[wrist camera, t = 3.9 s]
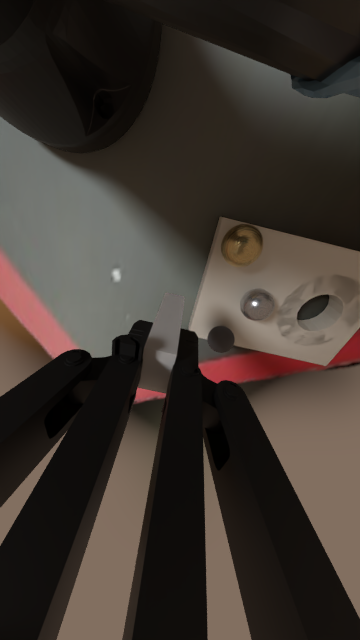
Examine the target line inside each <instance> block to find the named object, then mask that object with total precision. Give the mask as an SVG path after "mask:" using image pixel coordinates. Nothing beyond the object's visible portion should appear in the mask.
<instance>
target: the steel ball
mask: <svg viewBox="0 0 360 640" xmlns="http://www.w3.org/2000/svg"><path fill="white" fill-rule="evenodd" d="M274 308H275V301H274V298H273V296H272V295H271V294H270V293H269V292H268V291H266V290H264V289H260V288H256V289H252V290H249V291H248V292H246V293H245V294H244V295H243V297H242V298H241V301H240V309H241V312H242V314H243V315H244V316H245V317H246V318H248V319H250V320H253V321H261V320H264V319H266V318H268V317H269V316H270V315H271V314H272V312H273V311H274Z"/></svg>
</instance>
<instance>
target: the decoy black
mask: <svg viewBox="0 0 360 640" xmlns="http://www.w3.org/2000/svg"><path fill="white" fill-rule="evenodd" d="M207 340H208V344H209V346H210V347H211V349H213V350H214V351H216V352H220V353H223V352H227V351H229V350H230V349H231V348H232V347H233V345H234V342H235V337H234V334H233V332H232V331H231V330H230V329H229V328H227V327H225V326H216V327H214V328H213V329H211V330H210V332H209V334H208V337H207Z"/></svg>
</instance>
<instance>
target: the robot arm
mask: <svg viewBox="0 0 360 640" xmlns="http://www.w3.org/2000/svg"><path fill="white" fill-rule="evenodd" d="M162 24H165V25H167V26H170V27H172V28H175V29H177V30H180V31H182V32H185V33H188V34H190V35H193V36H195V37H198V38H200V39H203V40H205V41H208V42H210V43H213V44H215V45H218V46H220V47H223V48H225V49H228V50H230V51H233V52H236V53H238V54H241V55H243V56H246V57H248V58H251V59H253V60H256V61H258V62H261V63H263V64H266V65H268V66H271V67H273V68H276V69H278V70H281V71H284V72H286V73H289V74H290V75H291V79H292V88H293V89H295V90H296V91H298V92H300V93H301V94H303V95H304V96H308V97H312V98H328V97H331V96H335V95H338V94H341V93H346V94H349V95H353V96H356V97H360V0H0V116H1V117H2V118H3V119H4V120H6V121H7V122H8V123H10V124H11V125H13V126H14V127H15V128H17V129H18V130H20V131H21V132H23V133H25V134H26V135H28V136H30V137H32V138H34V139H36V140H38V141H40V142H43V143H45V144H47V145H50V146H52V147H55V148H57V149H60V150H63V151H68V152H74V153H87V152H93V151H97V150H100V149H103V148H105V147H107V146H109V145H111V144H112V143H114V142H115V141H117V140H118V139H119V138H120V137H121V136H122V135H123V134H124V133H125V132H126V131H127V130H128V129H129V128H130V127H131V125H132V124H133V123H134V121H135V120H136V118H137V117H138V115H139V113H140V111H141V109H142V107H143V105H144V103H145V101H146V99H147V96H148V94H149V91H150V88H151V85H152V82H153V78H154V75H155V70H156V66H157V61H158V55H159V48H160V40H161V28H162ZM184 300H185V297H184V296H180V295H176V294H171V293H167V292H165V295H164V297H163V300H162V302H161V305H160V308H159V310H158V313H157V315H156V318H155V321H154V323H152V322H147V321H143V320H139V321H137V322H136V323H134V325H133V326H132V328H131V330H130V332H129V334H128V335H121V336H118V337H116V338H115V339H114V340H113V341H112V356H108V357H102V358H92V357H91V355H90V353H88V352H87V351H85V350H81V349H74V350H70V351H66V352H64V353H62V354H61V355H59V356H58V357H56V358H55V359H54V360H52V361H51V362H49V363H48V364H46V365H45V366H44V367H42V368H41V369H39V370H38V371H36V372H35V373H34V374H32V375H31V376H30V377H28V378H27V379H25V380H24V381H22V382H21V383H20V384H18V385H17V386H15V387H14V388H12V389H11V390H10V391H8V392H7V393H5V394H4V395H2V396H1V397H0V507H1V506H2V505H3V504H4V503H5V502H6V500H7V499H8V498H9V497H10V496H11V495H12V494H13V492H14V491H15V490H16V489H17V488H18V487H19V485H20V484H21V483H22V482H23V481H24V480H25V478H26V477H27V476H28V475H29V474H30V473H31V472H32V471H33V469H34V468H35V467H36V466H37V465H38V464H39V462H40V461H41V460H42V459H43V458H44V457H45V456H46V454H47V453H48V452H49V451H50V450H51V449H52V448H53V446H54V445H55V444H56V443H57V442H58V441H59V439H60V438H61V437H62V436H63V435H64V434H65V433H66V431H67V430H68V431H67V433H66V434H65V436H64V438H63V440H62V441H61V443H60V445H59V447H58V448H57V450H56V452H55V453H54V455H53V457H52V459H51V460H50V462H49V464H48V465H47V467H46V469H45V470H44V472H43V474H42V476H41V477H40V479H39V481H38V482H37V484H36V486H35V487H34V489H33V491H32V493H31V494H30V496H29V498H28V499H27V501H26V503H25V505H24V506H23V508H22V510H21V511H20V513H19V515H18V517H17V518H16V520H15V522H14V524H13V525H12V527H11V529H10V530H9V532H8V534H7V535H6V537H5V539H4V541H3V543H2V544H1V546H0V640H56V639H57V636H58V633H59V630H60V627H61V624H62V621H63V617H64V614H65V611H66V608H67V605H68V602H69V599H70V596H71V593H72V590H73V587H74V584H75V581H76V578H77V575H78V572H79V568H80V565H81V562H82V559H83V556H84V553H85V550H86V547H87V544H88V540H89V538H90V535H91V532H92V529H93V526H94V522H95V520H96V516H97V513H98V510H99V507H100V504H101V501H102V498H103V495H104V492H105V489H106V486H107V483H108V480H109V477H110V474H111V470H112V468H113V464H114V461H115V458H116V455H117V452H118V449H119V446H120V443H121V440H122V437H123V434H124V431H125V428H126V425H127V422H128V419H129V415H130V412H131V409H132V406H133V403H134V400H135V397H136V390H137V387H138V388H143V389H147V390H152V391H157V392H162V393H166V397H165V401H164V405H163V408H162V417H161V423H160V428H159V434H158V440H157V446H156V451H155V457H154V463H153V469H152V474H151V480H150V485H149V491H148V497H147V503H146V508H145V514H144V520H143V525H142V531H141V537H140V543H139V548H138V554H137V559H136V565H135V571H134V577H133V582H132V588H131V594H130V600H129V605H128V611H127V616H126V622H125V628H124V634H123V639H122V640H208V639H207V596H206V552H205V511H204V510H205V508H204V464H203V439H204V443H205V447H206V451H207V455H208V459H209V463H210V468H211V472H212V476H213V480H214V484H215V489H216V492H217V497H218V501H219V505H220V509H221V513H222V518H223V522H224V526H225V530H226V534H227V538H228V543H229V547H230V551H231V555H232V559H233V564H234V568H235V571H236V576H237V580H238V584H239V589H240V593H241V597H242V601H243V605H244V609H245V613H246V618H247V622H248V626H249V630H250V634H251V639H252V640H360V618H359V617H358V615H357V613H356V611H355V609H354V607H353V605H352V603H351V601H350V599H349V597H348V595H347V593H346V591H345V589H344V587H343V585H342V583H341V581H340V579H339V577H338V575H337V573H336V571H335V569H334V567H333V565H332V563H331V561H330V559H329V557H328V556H327V553H326V552H325V550H324V548H323V546H322V544H321V542H320V540H319V538H318V536H317V534H316V532H315V530H314V528H313V526H312V524H311V522H310V520H309V518H308V516H307V514H306V512H305V510H304V508H303V506H302V504H301V502H300V500H299V499H298V496H297V494H296V492H295V490H294V488H293V487H292V485H291V483H290V481H289V479H288V477H287V475H286V473H285V471H284V469H283V467H282V465H281V463H280V461H279V459H278V457H277V455H276V453H275V451H274V449H273V447H272V445H271V443H270V441H269V439H268V437H267V435H266V433H265V431H264V430H263V427H262V426H261V424H260V422H259V420H258V418H257V416H256V414H255V412H254V410H253V408H252V406H251V404H250V402H249V400H248V398H247V396H246V394H245V392H244V391H243V389H242V388H241V387H240V386H238V385H237V384H236V383H234V382H232V381H227V380H225V381H221V382H219V383H218V384H217V383H215V382H213V381H211V380H209V379H207V378H206V377H205V376H203V375H202V373H201V370H200V369H199V367H198V336H197V334H196V333H195V332H194V331H190V330H185V329H181V321H182V314H183V307H184ZM138 384H139V385H138Z"/></svg>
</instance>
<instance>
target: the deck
mask: <svg viewBox="0 0 360 640" xmlns="http://www.w3.org/2000/svg"><path fill="white" fill-rule="evenodd" d="M239 224H248V223H244V222H241V221H237V220H233V219H229V218H225V217H221V216H220V218H219V221H218V225H217V228H216V232H215V235H214V239H213V242H212V246H211V249H210V253H209V256H208V260H207V263H206V267H205V270H204V274H203V277H202V281H201V284H200V288H199V291H198V295H197V298H196V301H195V305H194V308H193V312H192V315H191V319H190V322H189V330H190V331H194V332H195V333H196V334H197V336H198V337H199V338H203V339H207V337H208V334H209V332H210V330H211V329H213V328H214V327H216V326H225V327H227V328H229V329H230V330H231V331H232V332H233V334H234V337H235V342H234V345H235V346H239V347H243V348H248V349H252V350H257V351H261V352H266V353H270V354H275V355H279V356H284V357H288V358H292V359H297V360H301V361H306V362H310V363H315V364H319V365H324V366H327V364H328V363H329V362H330V361H331V360H332V359H333V358H334V356H335V355H336V354H337V353H338V352H339V351H340V350H341V348H342V347H343V346H344V345H345V344H346V343H347V342H348V340H349V339H350V338H351V337H352V336H353V335H354V334H355V332H356V331H357V330H358V329H359V328H360V252H359V251H355V250H351V249H347V248H343V247H339V246H336V245H332V244H328V243H324V242H320V241H316V240H312V239H308V238H304V237H300V236H296V235H292V234H288V233H284V232H280V231H276V230H272V229H268V228H264V227H260V226H256V225H253V226H255V227H256V228H257V229H258V230H259V231H260V232H261V234H262V237H263V250H262V252H261V254H260V256H259V258H258V259H257V260H256V261H255V262H254V263H252V264H250V265H248V266H246V267H234V266H231V265H230V264H228V263H227V262H226V261H225V260H224V258H223V256H222V253H221V243H222V240H223V237H224V236H225V234H226V233H227V232H228V231H229V230H230V229H231V228H232V227H234V226H236V225H239ZM250 225H252V224H250ZM256 288H260V289H264V290H266V291H268V292H269V293H270V294H271V295H272V296H273V298H274V301H275V308H274V311H273V312H272V314H271V315H270V316H269V317H268V318H266V319H264V320H261V321H253V320H250V319H248V318H246V317H245V316H244V315H243V314H242V312H241V309H240V301H241V298H242V297H243V295H244V294H245V293H246V292H248V291H249V290H252V289H256ZM325 294H328V295H329V302H328V305H327V307H326V308H325V309H324V311H323V312H321V313H320V314H319V315H318V316H316V317H314V318H311V319H308V320H298V319H297V313H298V311H299V309H300V308H301V306H302V305H303V304H304V303H306V302H307V301H308V300H309V299H311V298H314V297H316V296H318V295H325Z"/></svg>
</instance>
